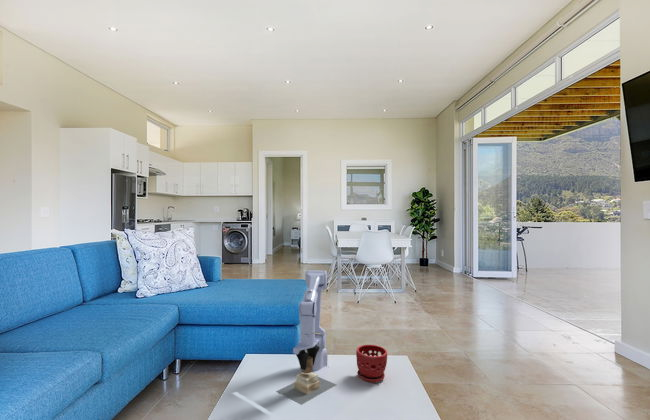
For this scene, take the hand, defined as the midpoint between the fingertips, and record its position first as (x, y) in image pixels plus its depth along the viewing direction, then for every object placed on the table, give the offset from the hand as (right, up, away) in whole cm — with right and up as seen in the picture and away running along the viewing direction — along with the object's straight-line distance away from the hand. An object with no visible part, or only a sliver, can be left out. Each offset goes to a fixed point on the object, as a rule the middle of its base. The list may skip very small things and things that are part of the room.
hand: (307, 367), depth 133 cm
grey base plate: (0, -9, 0) cm, 9 cm away
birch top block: (0, -6, 0) cm, 6 cm away
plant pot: (+27, -10, +11) cm, 31 cm away
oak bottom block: (0, -8, 0) cm, 8 cm away
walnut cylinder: (0, -2, 0) cm, 2 cm away
